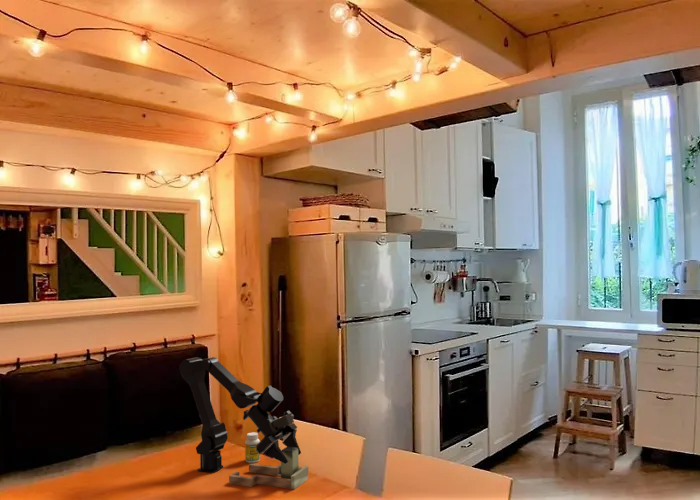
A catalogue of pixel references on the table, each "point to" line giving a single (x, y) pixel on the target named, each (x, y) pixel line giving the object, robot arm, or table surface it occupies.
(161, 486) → the table surface
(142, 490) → the table surface
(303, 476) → the trap lane
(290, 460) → the olive tin
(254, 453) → the supplement bottle
